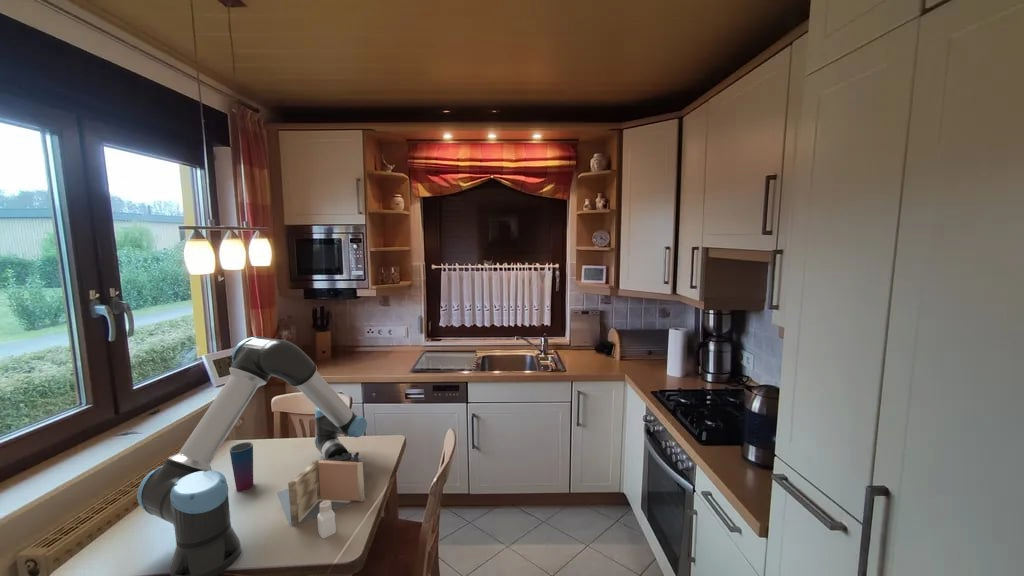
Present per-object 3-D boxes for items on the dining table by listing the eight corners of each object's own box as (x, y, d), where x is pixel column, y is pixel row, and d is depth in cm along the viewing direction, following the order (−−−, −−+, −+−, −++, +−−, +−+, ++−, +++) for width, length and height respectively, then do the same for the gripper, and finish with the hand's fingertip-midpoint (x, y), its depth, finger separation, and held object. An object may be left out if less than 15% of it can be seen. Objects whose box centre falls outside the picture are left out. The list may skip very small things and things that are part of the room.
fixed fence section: (316, 496, 137) (314, 459, 136) (322, 496, 137) (319, 460, 135) (289, 525, 123) (286, 484, 122) (296, 525, 123) (292, 485, 122)
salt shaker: (331, 526, 123) (329, 497, 122) (336, 533, 120) (334, 503, 119) (317, 533, 120) (315, 503, 119) (322, 540, 117) (320, 509, 116)
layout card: (290, 528, 122) (290, 526, 122) (276, 493, 139) (276, 492, 139) (366, 497, 137) (366, 496, 137) (346, 469, 154) (346, 468, 154)
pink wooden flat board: (320, 498, 135) (317, 462, 133) (323, 495, 137) (320, 460, 135) (363, 501, 133) (361, 465, 132) (365, 498, 135) (363, 462, 134)
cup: (230, 487, 143) (227, 447, 141) (253, 479, 148) (249, 439, 146) (236, 495, 139) (232, 453, 137) (258, 486, 143) (255, 446, 142)
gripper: (353, 456, 158) (376, 484, 140) (317, 468, 150) (336, 500, 131) (352, 438, 157) (375, 463, 139) (315, 449, 149) (335, 478, 131)
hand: (356, 481), depth 135 cm, fingers closed
